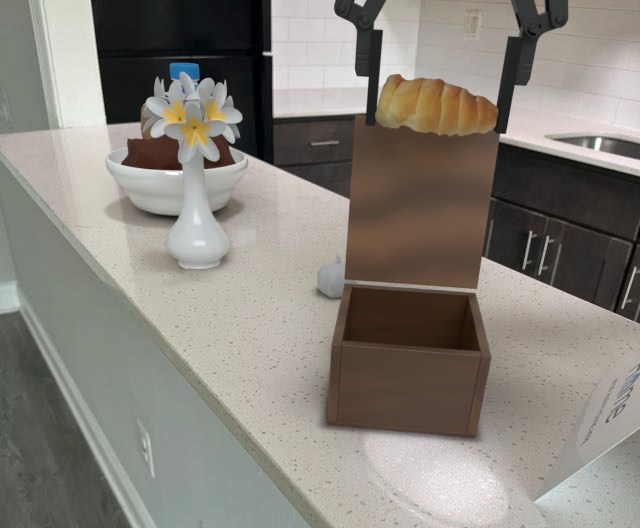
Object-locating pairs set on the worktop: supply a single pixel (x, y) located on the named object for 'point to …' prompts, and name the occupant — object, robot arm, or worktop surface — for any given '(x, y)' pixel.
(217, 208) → the white bowl
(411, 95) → the pastry
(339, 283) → the garlic
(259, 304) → the worktop surface
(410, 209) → the lid
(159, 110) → the flower vase
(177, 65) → the beverage bottle
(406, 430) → the bread box
